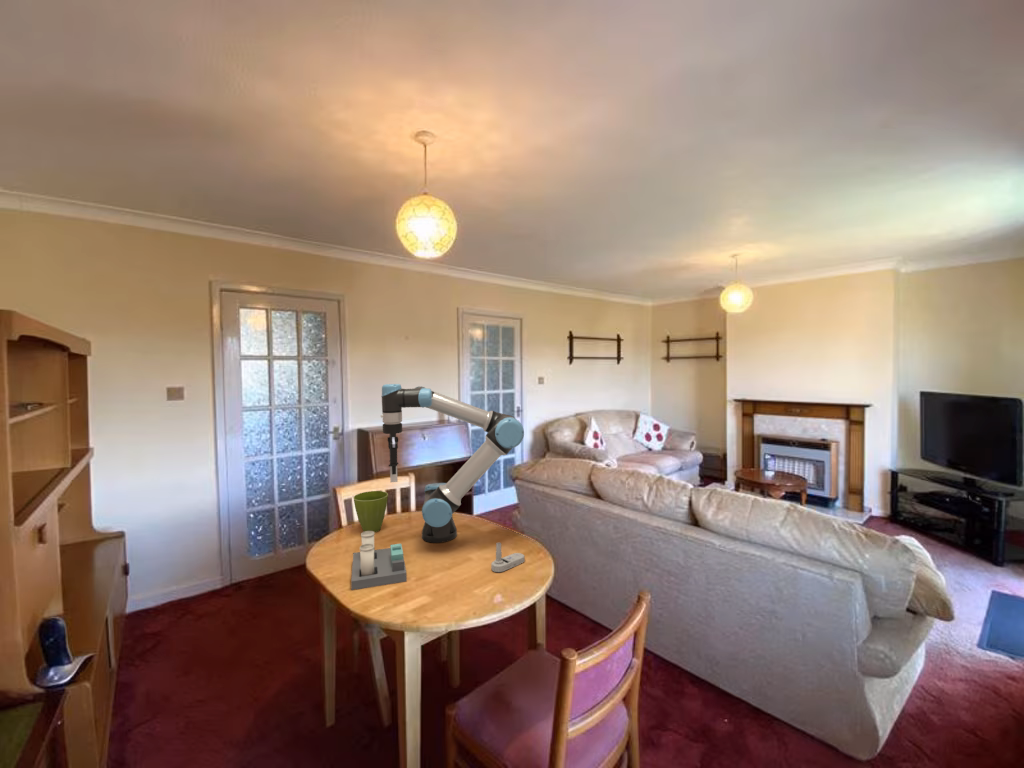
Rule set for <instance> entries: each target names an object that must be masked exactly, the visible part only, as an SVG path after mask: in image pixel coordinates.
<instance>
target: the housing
mask: <svg viewBox="0 0 1024 768" xmlns="http://www.w3.org/2000/svg"><path fill="white" fill-rule="evenodd" d="M374 550H375V559H374V573H375V575H368V576H362V577H361V561H360V551H358V552H353V554H352V566H351V581H350V583H351V584H350V585H351V586H350V587H351V591H355V590H354V589H356V590H362V589H369V588H374V587H381V586H387V585H393V584H398V583H400V584H401V583H405V582H407V578H408V577H407V576H408V575H407V568H406V564H405V558H404V556H403V559H402V560H395V561H392V562H391V548H390V547H387V548H381V549H374Z"/></svg>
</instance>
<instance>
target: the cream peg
mask: <svg viewBox="0 0 1024 768" xmlns="http://www.w3.org/2000/svg"><path fill="white" fill-rule="evenodd" d="M374 550H375V544H374V545H373V544H364V545H362V544H361V545H360V546H359V552H360V561H361V577H362V576H368V575H375V573H374Z"/></svg>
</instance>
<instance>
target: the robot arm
mask: <svg viewBox="0 0 1024 768" xmlns="http://www.w3.org/2000/svg"><path fill="white" fill-rule="evenodd" d="M403 408H427V409H430V410H433V411H434V412H435V411H436V412H438V413H441V414H444V415H445V416H446V415H447V416H449V417H451V418H454V419H458V420H460V421H463V422H466V423H468V424H471V425H473V426H476V427H478V428H481V429H483V431H484V432H486V435H484V437H485V440H484V442H483V443H482V444H481V445H480V447H478V449H476V451H475V452H474V453H472V455H471V456H470V457H469V459H467V461H466V462H465V463H464V464H463V465H462V466H461V467H460V468H459V469H458V470H457V472H456V473H454V475H453V476H452V477H451V478H450V479H449V480H448V481H447V482H436V483H428V484H426V485H424V486H425V487H424V502H423V505H422V508H421V515H422V519H423V521H424V524H423V527H422V531H421V540H422V541H425V542H428V543H433V544H435V543H436V544H437V543H446V542H449V541H452V540H454V539H455V538H456V537H457V536H458V531H457V530H458V529H457V527H456V524H455V520H454V518H453V514H454V513H455V512H456V511H457V510H458V509H459V508H460V506H461V505H462V503H461V501H462V498H463V497H464V496H465V495H466V494H467V493H469V491H470V490H471V489H472V487H474V485H475V484H477V482H478V481H479V480H480V479H481V477H483V475H485V473H486V472H487V471H488V470H489V469H490V468H491V467H492V465H494V463H495V462H496V461H497V460H498V459H499V458H500V457H501V456H506V455H508V454H509V452H510V451H511V450H512V449H514V448H516V447H518V446H519V445H520V444H521V443H522V441H523V440H524V435H525V431H524V426H523V424H522V423H521V422H520V421H519V420H518V419H517V418H516V417H514V416H512V415H510V414H505V413H501V412H497V411H495V410H490V411H487V410H485V409H483V408H480V407H477V406H474V405H472V404H468V403H466V402H464V401H460V400H458V399H455V398H452V397H449V396H447V395H445V394H442V393H439V392H436V391H434V390H432V389H431V388H426V387H425V386H416V387H414V388H402V386H401V384H400V383H385V384H383V385H382V386H381V409H382V410H381V412H382V414H381V415H380V418H382V423H383V424H382V433H383V434H385V435H388V434H389V436H388V437H387V443H388V445H387V447H388V450H389V464H388V467H389V475H390V477H389V478H390V479H389V480H390V483H398V482H399V481H398V480H399V479H398V478H399V477H398V465H399V462H398V448H399V445H398V443H399V437H398V436H397V434H401V433H402V432H403V423H402V421H403V410H402V409H403Z"/></svg>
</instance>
